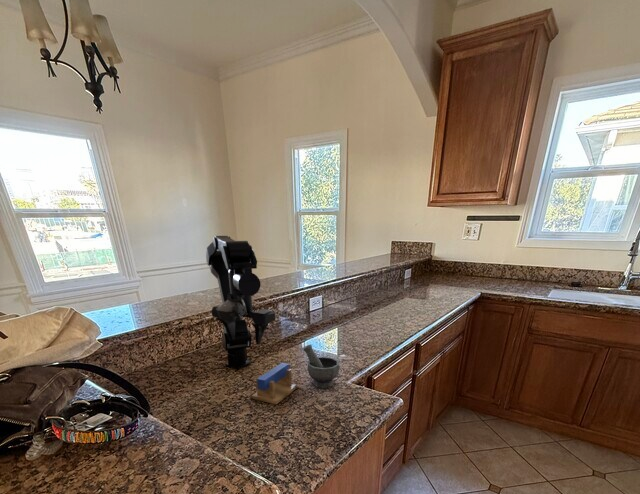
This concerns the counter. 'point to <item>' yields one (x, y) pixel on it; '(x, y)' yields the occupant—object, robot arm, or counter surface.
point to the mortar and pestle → (321, 368)
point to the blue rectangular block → (272, 376)
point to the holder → (276, 390)
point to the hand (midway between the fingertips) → (245, 342)
